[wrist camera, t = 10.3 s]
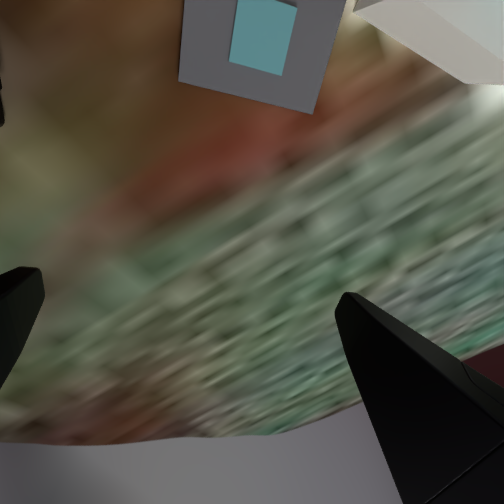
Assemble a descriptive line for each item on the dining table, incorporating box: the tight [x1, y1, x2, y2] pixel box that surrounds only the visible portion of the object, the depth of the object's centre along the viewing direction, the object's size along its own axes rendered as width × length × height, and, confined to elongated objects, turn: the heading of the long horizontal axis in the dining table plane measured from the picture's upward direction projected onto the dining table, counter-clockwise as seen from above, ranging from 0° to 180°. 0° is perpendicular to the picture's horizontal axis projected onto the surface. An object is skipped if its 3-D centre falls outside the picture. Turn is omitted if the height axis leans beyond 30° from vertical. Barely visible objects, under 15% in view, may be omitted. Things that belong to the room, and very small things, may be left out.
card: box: [178, 0, 346, 114], centre depth 15 cm, size 8×6×1 cm
